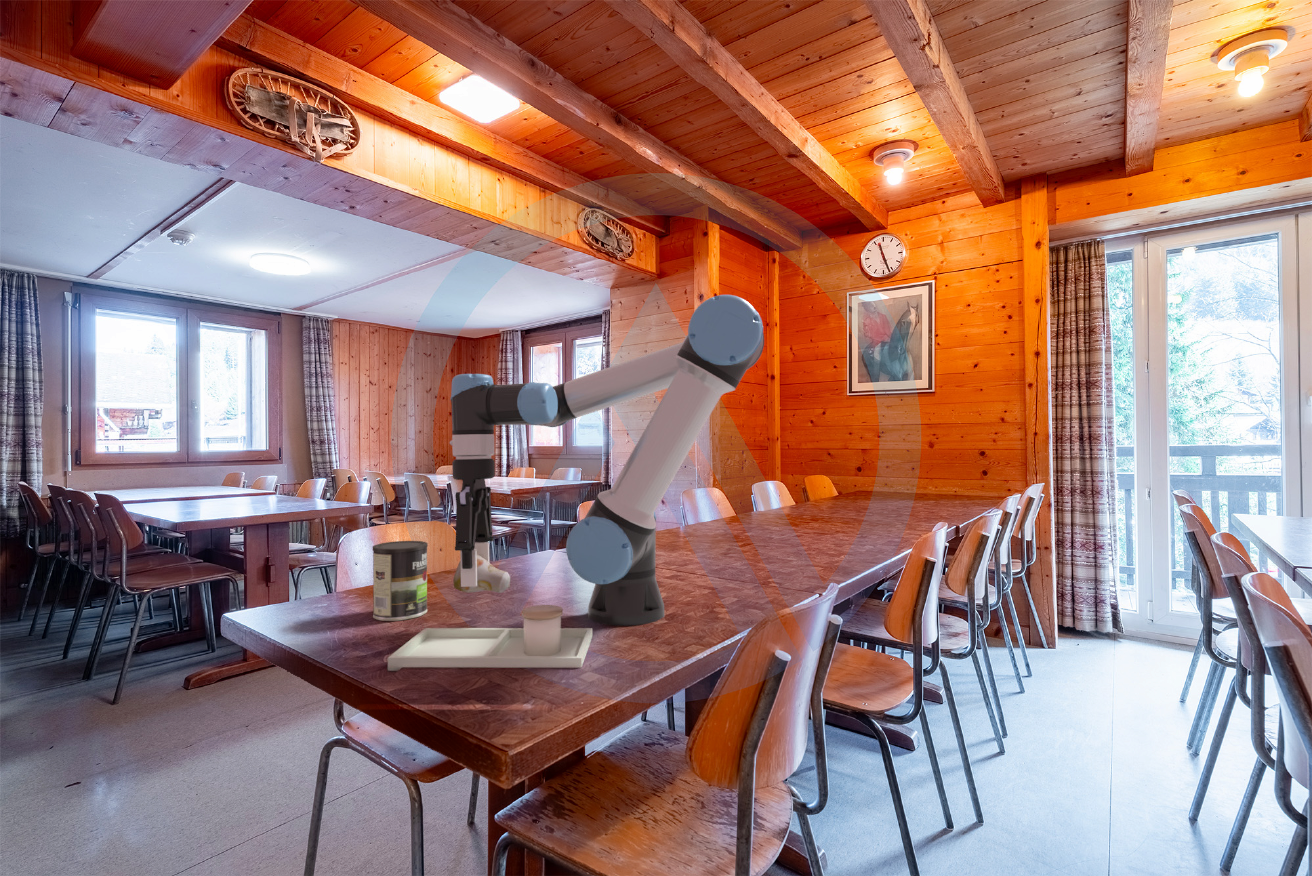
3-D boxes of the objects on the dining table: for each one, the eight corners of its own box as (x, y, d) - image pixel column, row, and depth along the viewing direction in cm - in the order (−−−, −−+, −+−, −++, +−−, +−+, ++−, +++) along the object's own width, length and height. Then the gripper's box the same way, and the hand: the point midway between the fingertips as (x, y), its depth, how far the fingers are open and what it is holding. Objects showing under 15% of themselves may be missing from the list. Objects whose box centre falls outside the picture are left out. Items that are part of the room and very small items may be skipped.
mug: (507, 598, 108) (478, 552, 107) (465, 618, 111) (436, 573, 109) (523, 578, 115) (495, 535, 114) (483, 598, 118) (456, 555, 116)
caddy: (592, 639, 106) (592, 628, 106) (581, 671, 92) (581, 658, 92) (425, 639, 107) (425, 627, 107) (387, 670, 92) (387, 657, 92)
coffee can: (435, 607, 128) (435, 540, 128) (415, 621, 117) (415, 549, 117) (386, 606, 128) (387, 540, 128) (362, 621, 117) (362, 549, 117)
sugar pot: (565, 643, 102) (565, 604, 102) (559, 657, 96) (559, 616, 96) (526, 643, 102) (526, 604, 102) (517, 657, 96) (517, 616, 96)
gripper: (470, 456, 122) (472, 570, 122) (433, 459, 102) (435, 595, 102) (507, 456, 122) (509, 569, 122) (477, 458, 102) (479, 594, 102)
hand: (475, 580), depth 112 cm, fingers closed on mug, 7 cm apart
